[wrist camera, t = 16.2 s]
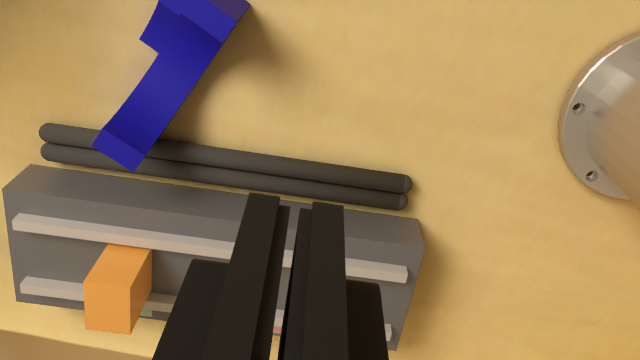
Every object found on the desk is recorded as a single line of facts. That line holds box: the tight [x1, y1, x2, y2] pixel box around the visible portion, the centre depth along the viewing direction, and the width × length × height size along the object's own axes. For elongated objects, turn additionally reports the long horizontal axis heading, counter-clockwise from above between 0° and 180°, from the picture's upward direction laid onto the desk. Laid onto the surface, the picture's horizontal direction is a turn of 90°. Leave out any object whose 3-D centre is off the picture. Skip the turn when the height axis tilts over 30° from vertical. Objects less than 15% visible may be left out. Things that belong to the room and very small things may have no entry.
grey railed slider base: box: [2, 164, 425, 351], centre depth 43 cm, size 30×10×5 cm, turn 81°
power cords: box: [39, 123, 412, 210], centre depth 41 cm, size 27×3×1 cm, turn 81°
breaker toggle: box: [83, 243, 152, 335], centre depth 39 cm, size 3×4×5 cm
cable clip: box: [92, 0, 250, 172], centre depth 35 cm, size 12×4×6 cm, turn 142°
